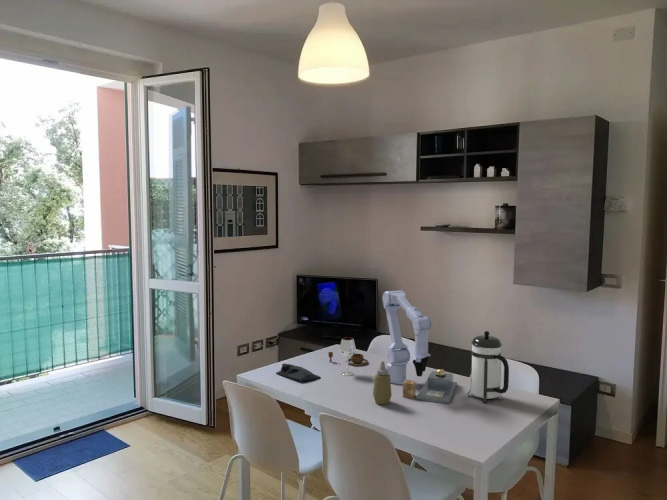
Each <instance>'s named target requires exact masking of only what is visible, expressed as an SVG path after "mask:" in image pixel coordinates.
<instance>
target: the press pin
mask: <svg viewBox="0 0 667 500" xmlns="http://www.w3.org/2000/svg"><path fill="white" fill-rule="evenodd" d="M445 371H446V370H445V369H442V368H437V369H436V372H437V377H445V373H446V372H445Z"/></svg>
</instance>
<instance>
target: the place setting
mask: <svg viewBox="0 0 667 500" xmlns="http://www.w3.org/2000/svg"><path fill="white" fill-rule="evenodd" d="M327 353H328V358H329V363H332V361H333V360H332V358H333V357H334V353H333V352H332V351H329V352H327ZM348 361H349V362H348V366H351V365H352V367H353V366H354V367H362V366H363V367H364V366H366V365H368V363H369V360H368V359H366V358H364V354H362V353H354V355H353V356H352V357H350V358H349V360H348ZM345 362H346V364H347V360H346V359H345ZM350 362H352V363H350ZM362 362H365V363H362ZM341 365H342V364H339V366H341Z"/></svg>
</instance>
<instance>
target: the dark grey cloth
mask: <svg viewBox="0 0 667 500" xmlns="http://www.w3.org/2000/svg"><path fill="white" fill-rule="evenodd" d="M275 374H276V375H280V376H282V377H284V378H287V377H288V378H287V379H290V380H294V381H296V382H307V381H313V380H314V381H315V380H320V379H321V376H320V375H317V374H314V373H313V372H311V371H310V370H308V369H306V368H305V367H302V366H298V365H295V364H290V363H285V362H284V363H282V365H281V368H280V370H279V371H276V372H275Z"/></svg>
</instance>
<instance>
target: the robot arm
mask: <svg viewBox="0 0 667 500" xmlns="http://www.w3.org/2000/svg"><path fill="white" fill-rule="evenodd" d="M382 304H383V308H384V309H385V313H386V319H387V324H388V329H389V331H388V332H389V336H390V341H391V344H390V345H389V347H388V348H387V361H388V362H387V363H386V365H385V369H387V370H388V374H389V375H390V382H391V384H397V385H402V386H403V382H404V381H405V380H409V379H408V378H407V365H408V364H409V363H408V362H409V361H410V359H411V352H410V351H409V349H408V345H407V344H405V343H404V342H403V339H402V333H401V327H400V322H399V317H398V310H399V308H402V309H403V310H404V311H405V315H406V317H407V318H408V319H409V320H410V321H411V323H412V327H413V333H414V353H413V354H414V356H415V359H412V364H413V365H414V368H415V373H416V377H422V376H423V375H424V374H423V373H424V372H425V371H426V369H427V368H426V367H427V363H428V361H429V358H430V357H431V353H429V330H430V329H431V328H432V321H431V319H430V317H429V316H428V315H427V316H425V315H423V314H422V313H421V311H420V310H419V309H418V308H417V306H412V305H411V303H410V302H409V301H408V298H407V295H406V293H405V291H404V290H402V289H401V290H391V291H390V290H386V291H384V292H383V294H382Z"/></svg>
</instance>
